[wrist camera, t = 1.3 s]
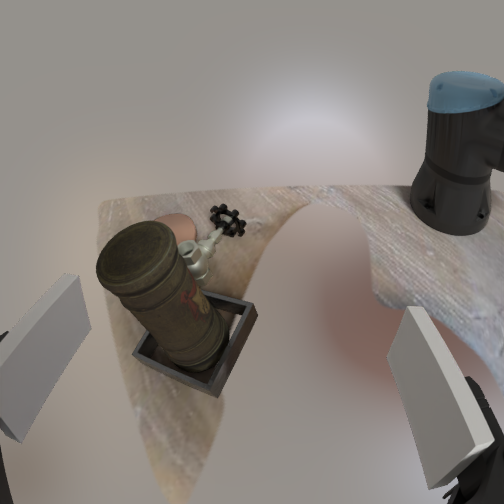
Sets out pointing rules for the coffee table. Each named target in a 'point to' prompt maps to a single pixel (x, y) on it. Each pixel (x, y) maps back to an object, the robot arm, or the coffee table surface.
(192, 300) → the container
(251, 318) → the collar
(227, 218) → the valve
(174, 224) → the peach soap bar
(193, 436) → the coffee table surface
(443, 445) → the robot arm
